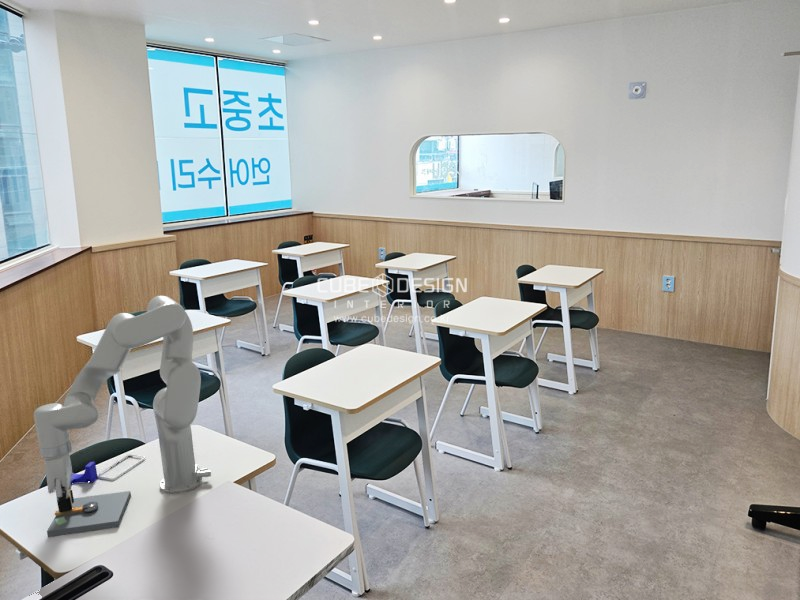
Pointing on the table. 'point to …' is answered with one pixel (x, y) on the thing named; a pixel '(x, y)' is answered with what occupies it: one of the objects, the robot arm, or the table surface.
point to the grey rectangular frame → (123, 471)
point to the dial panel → (92, 515)
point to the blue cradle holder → (86, 474)
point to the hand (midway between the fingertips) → (66, 506)
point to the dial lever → (86, 508)
